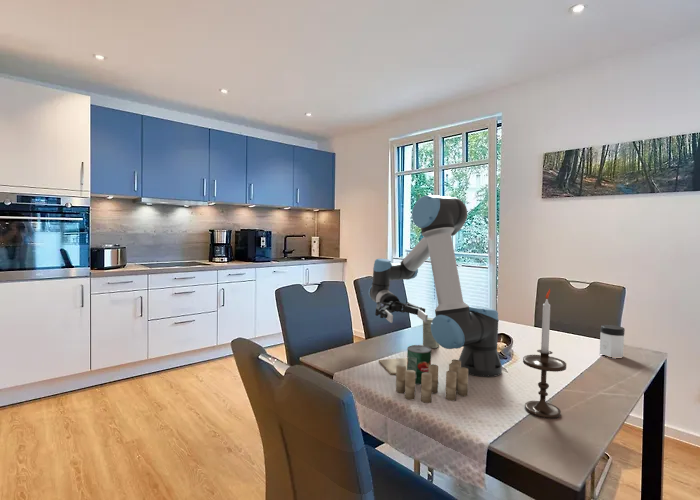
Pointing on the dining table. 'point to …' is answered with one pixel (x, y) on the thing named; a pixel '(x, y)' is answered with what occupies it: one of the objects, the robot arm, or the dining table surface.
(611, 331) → the jar
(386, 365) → the cork trivet
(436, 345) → the skincare box
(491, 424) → the dining table surface
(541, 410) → the candlestick
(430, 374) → the dowel field
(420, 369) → the canned tomato
